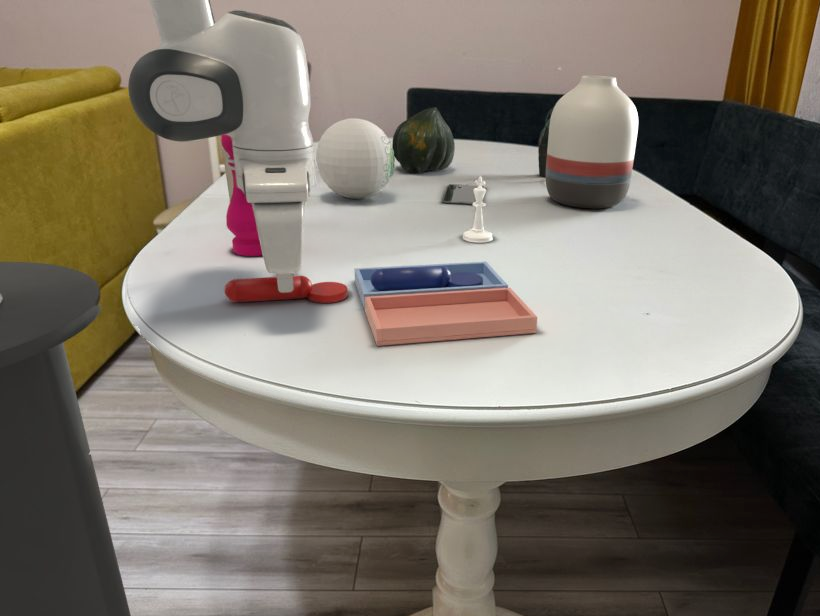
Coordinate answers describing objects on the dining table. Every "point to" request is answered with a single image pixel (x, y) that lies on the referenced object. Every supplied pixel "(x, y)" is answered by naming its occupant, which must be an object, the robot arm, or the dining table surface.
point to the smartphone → (460, 194)
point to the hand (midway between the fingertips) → (285, 284)
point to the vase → (591, 145)
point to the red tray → (448, 316)
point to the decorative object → (355, 158)
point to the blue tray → (480, 268)
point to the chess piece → (478, 218)
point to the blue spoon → (422, 278)
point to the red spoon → (269, 291)
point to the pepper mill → (240, 213)
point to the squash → (424, 142)
